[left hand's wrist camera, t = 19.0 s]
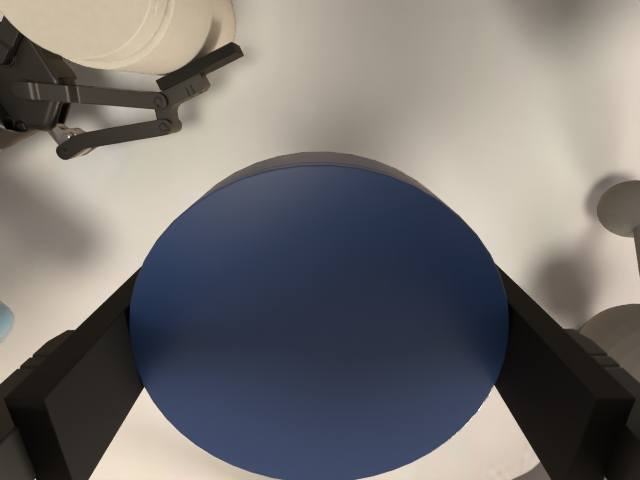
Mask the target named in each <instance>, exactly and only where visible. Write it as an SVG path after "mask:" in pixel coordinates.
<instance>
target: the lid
mask: <svg viewBox="0 0 640 480" xmlns="http://www.w3.org/2000/svg"><path fill="white" fill-rule="evenodd" d="M129 333H130V340H131V345H132V349H133V354H134V358H135V362H136V367H137V370H138V373H139V375H140V378H141V380H142V383H143V385H144V387H145V388H146V390H147V392H148V394H149V395H150V397H151V399H152V400H153V402H154V403H155V405H156V406H157V407H158V409H159V410H160V411H161V412H162V414H163V415H164V416H165V418H166V419H167V420H168V421H169V422H170V423H171V424H172V425H173V426H174V427H175V428H176V429H177V430H178V431H179V432H180V433H182V434H183V435H184V436H185V437H187V438H188V439H189V440H190V441H192V442H193V443H194V444H195V445H197V446H198V447H200V448H202V449H203V450H205V451H206V452H208V453H210V454H211V455H213V456H215V457H217V458H219V459H221V460H223V461H225V462H227V463H229V464H231V465H233V466H236V467H239V468H241V469H244V470H247V471H249V472H252V473H256V474H260V475H264V476H267V477H271V478H277V479H283V480H356V479H361V478H366V477H371V476H375V475H379V474H382V473H385V472H389V471H392V470H395V469H397V468H400V467H402V466H405V465H407V464H409V463H412V462H414V461H416V460H418V459H419V458H421V457H423V456H425V455H427V454H429V453H431V452H432V451H434V450H435V449H437V448H438V447H440V446H441V445H442V444H444V443H445V442H447V441H448V440H449V439H450V438H452V437H453V436H454V435H455V434H456V433H458V432H459V431H460V430H461V429H462V428H463V427H464V426H465V425H466V424H467V423H468V422H469V421H470V420H471V419H472V417H473V416H474V415H475V414H476V413H477V412H478V410H479V409H480V408H481V406H482V405H483V403H484V402H485V401H486V399H487V398H488V396H489V394H490V392H491V390H492V389H493V387H494V385H495V383H496V381H497V379H498V376H499V374H500V371H501V368H502V365H503V363H504V359H505V355H506V350H507V344H508V338H509V312H508V304H507V296H506V293H505V289H504V286H503V282H502V279H501V275H500V273H499V271H498V269H497V267H496V265H495V263H494V261H493V259H492V256H491V254H490V253H489V251H488V250H487V248H486V247H485V246H484V244H483V243H482V241H481V240H480V238H479V237H478V235H477V234H476V233H475V232H474V231H473V230H472V229H471V228H470V227H469V226H468V225H467V223H466V222H465V221H464V220H463V219H462V218H461V217H460V216H459V215H458V214H457V213H455V212H454V211H453V210H452V209H451V208H450V207H448V206H447V205H446V204H445V203H444V202H443V201H441V200H440V199H439V198H438V197H437V196H436V195H435V194H433V193H432V192H431V191H429V190H428V189H427V188H426V187H424V186H423V185H422V184H421V183H419V182H418V181H417V180H415V179H413V178H411V177H410V176H408V175H406V174H404V173H403V172H401V171H399V170H398V169H395V168H393V167H390V166H388V165H385V164H383V163H380V162H378V161H375V160H372V159H368V158H364V157H360V156H356V155H352V154H343V153H334V152H302V153H295V154H289V155H282V156H277V157H274V158H271V159H267V160H264V161H261V162H257V163H255V164H253V165H250V166H248V167H246V168H244V169H242V170H239V171H237V172H235V173H233V174H232V175H230V176H229V177H227V178H225V179H224V180H222V181H221V182H219V183H218V184H216V185H215V186H214V187H212V188H211V189H210V190H209V191H208V192H207V193H205V194H204V195H203V196H202V197H201V198H200V199H198V200H197V201H196V202H195V203H194V204H193V205H192V206H190V207H189V208H188V209H187V210H186V211H185V212H183V213H182V214H181V215H180V216H179V217H178V218H176V219H175V220H174V221H173V222H172V223H171V224H170V226H169V227H168V228H167V229H166V230H165V231H164V232H163V234H162V235H161V236H160V237H159V238H158V239H157V241H156V242H155V244H154V246H153V247H152V249H151V250H150V252H149V254H148V255H147V257H146V259H145V260H144V262H143V265H142V267H141V270H140V272H139V274H138V277H137V279H136V282H135V286H134V290H133V294H132V298H131V303H130V315H129Z"/></svg>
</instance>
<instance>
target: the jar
mask: <svg viewBox="0 0 640 480" xmlns="http://www.w3.org/2000/svg"><path fill="white" fill-rule="evenodd" d="M0 11H1V12H2V13H3V15H4V16H5V17H6V18H7V19H8V20H9V22H10V23H11V24H12V25H13V26H14V27H16V28H17V29H18V30H19V31H20V32H21V33H22V34H23V35H25V36H26V37H27V38H28V39H30V40H31V41H33V42H34V43H36V44H37V45H39V46H41V47H42V48H44V49H46V50H48V51H51V52H53V53H55V54H58V55H60V56H62V57H64V58H66V59H68V60H70V61H72V62H74V63H77V64H80V65H83V66H86V67H91V68H96V69H105V70H115V71H124V72H133V73H142V74H152V75H161V76H166V75H168V74H170V73H172V72H174V71H176V70H177V69H179V68H181V67H183V66H185V65H187V64H189V63H191V62H193V61H195V60H197V59H199V58H201V57H203V56H205V55H207V54H209V53H211V52H212V51H214V50H216V49H218V48H220V47H222V46H224V45H226V44H228V43H230V42H233V40H234V35H235V17H234V11H233V7H232V4H231V1H230V0H0Z"/></svg>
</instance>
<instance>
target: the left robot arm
mask: <svg viewBox="0 0 640 480" xmlns="http://www.w3.org/2000/svg"><path fill="white" fill-rule="evenodd" d="M495 265H496V264H495ZM141 267H142V266H141ZM141 267H140V268H139V269H138V270H137V271H136V272H135V273H134V274H133V275H132V276H131V277H130V278H129V279H128V280H127V281H126V282H125V283H124V284H123V285H122V286H121V287H120V288H119V289H117V290H116V291H115V292H114V293H113V294H112V295H111V296H110V297H109V298H108V299H107V300H106V301H105V302H104V303H103V304H102V305H101V306H100V307H99V308H98V309H97V310H96V311H95V312H94V313H92V314H91V315H90V316H89V317H88V318H87V319H86V320H85V321H84V322H83V323H82V324H81V325H80V326H79V327H78V328H77V329H76V330H67V331H65V332H63V333H62V334H60V335H58V336H56V337H55V338H53V339H51V340H49V341H48V342H47V343H45V344H44V345H43V346H42V347H41V348H40V349H39V350H38V351H37V352H35V353H34V354H33V357H32V358H29V359H28V360H27V361H25V362H24V363H23V364H22V365H21V366H20V369H17V370H16V371H14V372H13V373H12V374H11V375H10V376H9V377H8V378H7V379H6V380H4V381H3V382H2V383H1V384H0V480H34V479H35V478H36V480H88V479H89V478H90V476H91V474H92V473H93V471H94V470H95V468H96V466H97V465H98V463H99V461H100V460H101V458H102V456H103V455H104V453H105V451H106V450H107V448H108V446H109V445H110V443H111V441H112V440H113V438H114V436H115V435H116V433H117V431H118V430H119V428H120V426H121V425H122V423H123V421H124V420H125V418H126V416H127V415H128V413H129V411H130V410H131V408H132V406H133V405H134V403H135V401H136V400H137V398H138V396H139V395H140V393H141V391H142V390H143V388H144V385H143V383H142V380H141V378H140V375H139V373H138V370H137V367H136V362H135V358H134V354H133V349H132V345H131V340H130V333H129V315H130V303H131V298H132V294H133V290H134V286H135V282H136V279H137V277H138V274H139V272H140V270H141ZM496 267H497V269H498V271H499V273H500V275H501V279H502V282H503V286H504V289H505V293H506V296H507V304H508V312H509V338H508V344H507V350H506V355H505V359H504V363H503V365H502V368H501V371H500V374H499V376H498V379H497V381H496V383H495V387H496V389H497V390H498V392H499V394H500V395H501V397H502V399H503V400H504V402H505V403H506V405H507V407H508V408H509V410H510V412H511V413H512V415H513V417H514V418H515V420H516V422H517V423H518V425H519V427H520V428H521V430H522V432H523V433H524V435H525V437H526V438H527V440H528V442H529V443H530V445H531V447H532V448H533V450H534V452H535V453H536V455H537V457H538V458H539V460H540V462H541V463H542V465H543V467H544V468H545V470H546V472H547V473H548V475H549V476H550V478H551V480H604V477H606V479H607V480H640V382H639V381H637V380H636V379H635V378H634V377H633V376H632V375H631V374H630V373H628V372H627V371H626V370H625V369H624V368H621V367H620V364H618V363H617V362H616V361H615V360H614V359H613V358H612V357H611V356H608V355H607V353H606V352H605V351H604V350H603V349H602V348H601V347H600V346H598V345H597V344H596V343H595V342H594V341H593V340H591V339H590V338H588V337H586V336H584V335H582V334H581V333H579V332H577V331H575V330H574V329H563V328H562V327H561V326H560V325H559V324H558V323H557V322H556V321H555V320H554V319H552V318H551V317H550V316H549V315H548V314H547V313H546V312H545V311H544V310H543V309H542V308H541V307H540V306H539V305H538V304H537V303H536V302H535V301H534V300H533V299H532V298H531V297H530V296H529V295H527V294H526V293H525V292H524V291H523V290H522V289H521V288H520V287H519V286H518V285H517V284H516V283H515V282H514V281H513V280H512V279H511V278H510V277H509V276H508V275H507V274H506V273H505V272H503V271H502V270H501V269H500V268H499V267H498V266H497V265H496Z"/></svg>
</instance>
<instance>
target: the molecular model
mask: <svg viewBox="0 0 640 480" xmlns="http://www.w3.org/2000/svg"><path fill="white" fill-rule="evenodd" d="M597 214H598V218H599V220H600V222H601V223H602V225H603V226H604V227H605V228H606V229H607V230H609V231H610V232H612V233H614V234H616V235H619V236H623V237H634V241H635V247H636V254H637V261H638V268H639V275H640V181H636V180H634V181H626V182H623V183H620V184H617V185H615V186H613V187H611V188H610V189H609V190H607V191H606V192H605V193H604V195H603V196H602V197H601V199H600V201H599V203H598V207H597ZM579 333H581V334H582V335H584V336H586V337H588V338H590V339H591V340H593V341H594V342H595V343H596V344H597V345H598V346H600V347H601V348H602V349H603V350H604V351H605V352H606V353H607V355H608V356H611V357H612V358H613V359H614V360H615V361H616V362H617V363H618V364H620V367H621V368H624V369H625V370H626V371H627V372H628V373H630V374H631V375H632V376H633V377H634V378H635V379H636V380H637V381H639V382H640V304H627V305H621V306H616V307H612V308H609V309H606V310H604V311H602V312H600V313H598V314H597V315H595V316H594V317H592V318H591V319H590V320H589V321H588V322H587V323H586V324H585V325H584V326H583V327H582V329H581V331H580V332H579Z"/></svg>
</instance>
